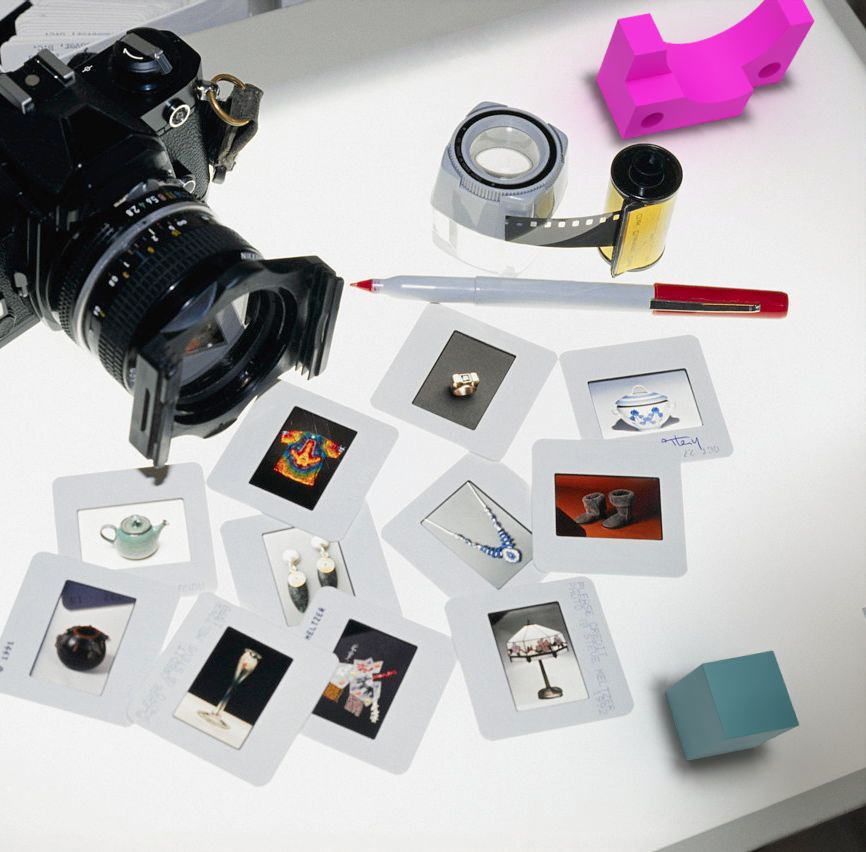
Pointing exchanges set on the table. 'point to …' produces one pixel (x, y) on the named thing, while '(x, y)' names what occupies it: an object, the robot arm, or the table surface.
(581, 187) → the table surface
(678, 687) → the teal rectangular block
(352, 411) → the table surface
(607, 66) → the magenta bracket
